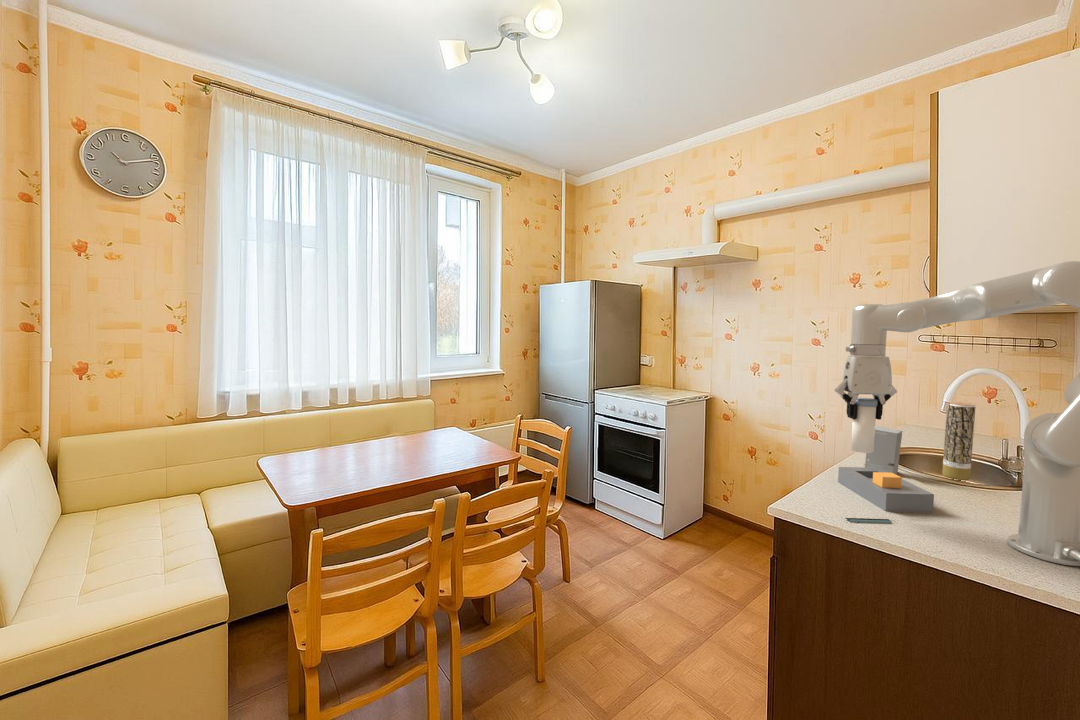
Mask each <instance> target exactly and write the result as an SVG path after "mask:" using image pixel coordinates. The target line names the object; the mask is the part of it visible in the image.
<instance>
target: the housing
mask: <svg viewBox="0 0 1080 720" xmlns="http://www.w3.org/2000/svg"><path fill="white" fill-rule="evenodd" d="M873 472H886V471H884V470H882V469H880V468H868V467H865V466H864V467H863V466H861V467H860V466H859V467H857V466H856V467H855V466H853V467H852V466H838V472H837V473H838V475H837V476H838V477H837V483H838V484H840V485H841V486H843V487H844V488H846V489H848V490H850V491H852V492H853V493H854V494H856V495H857V496H859V497H861V498H863V499H864V500H866V501H868V502H870V503H871V504H872V505H874V506H876V507H878V508H879V509H881V510H883V511H884V512H891V513H893V512H894V513H897V512H898V513H925V514H926V513H930V514H933V513H934V502H935V501H934V500H935V494H934V493H932V492H929V491H928V490H926V489H923V488H921V487H920V486H917V485H915V484H913V483H912V482H909V481H907V480H905V479H903V478H902V483H901V488H882V487H880V486H878V485H876V484H875V483H873ZM886 473H889V472H886Z"/></svg>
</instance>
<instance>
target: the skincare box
mask: <svg viewBox="0 0 1080 720" xmlns="http://www.w3.org/2000/svg"><path fill="white" fill-rule="evenodd" d="M902 437H903V431H902V430H900V429H899V430H898V429H893V428H889V427H888V428H887V427H882V426H877V425H875V438H874V452H873V453H865V462H864V467H868V468H880V469H882V470H884V471H886V472H889V473H894V474H896V475H897V474H898V472H899V465H900V464H899V463H900V457H901V456H900V455H901V445H902V440H903V439H902Z"/></svg>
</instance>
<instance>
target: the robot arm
mask: <svg viewBox="0 0 1080 720" xmlns="http://www.w3.org/2000/svg"><path fill="white" fill-rule="evenodd" d="M1062 304H1064V305H1067V306H1070V307H1073V308H1076V309H1078V310H1080V261H1079V260H1078V261H1077V260H1073V261H1063V262H1060V263H1057V264H1054V265H1049V266H1045V267H1040V268H1037V269H1033V270H1029V271H1025V272H1021V273H1017V274H1012V275H1008V276H1007V275H1006V276H1003V277H1000V278H995V279H990V280H986V281H981V282H978V283H975V284H971V285H968V286H965V287H963V288H960V289H958V290H953V291H951V292H947V293H943V294H940V295H936V296H932V297H931V296H930V297H927V298H923V299H919V300H916V301H914V300H913V301H911V302H901V303H893V304H882V303H877V304H875V303H874V304H873V303H871V304H869V303H868V304H867V303H866V304H857V305H856V306H854V307H853V308H852V313H851V314H852V317H851V318H852V319H851V334H850V335H851V337H850V345H849V346H846V347H845V352H846V353H849V354H850V355H847V358H846V360H845V361H846V362H845V365H844V368H843V374H842V375H843V376H842V382H840V384H838V385H837V387H836V388H834V392H835V393H836V394H837V395H838V396H840V398H842V400H844V402H845V403H846V416H847V418H848V419H851V420H852V419H857V407H858V406H857V404H855V403H856V400H857V398H859V395H872V396H871V397H872V399H876V400H878V402H877V406H876V420H881V421H882V416H883V410H884V407H883V406H884V405H886V402H888V401H889V400H890V399H891V397H893V396H894V395H895V394H897V393H898V390H897V389H896V388H895V387H894V385H893V375H892V365H891V360H890V357H889V356H886V349H887V348H886V347H887V338H888V337H887V333H888V331H889V332H899V333H913V332H916V331H918V330H923V329H926V328H932V327H938V326H941V325H942V326H943V325H947V324H953V323H958V322H968V321H980V320H984V319H986V320H987V319H991V318H996V317H1002V316H1005V315H1011V314H1016V313H1021V312H1026V311H1031V310H1036V309H1041V308H1046V307H1052V306H1056V305H1062ZM846 392H847V393H846ZM1063 394H1064V395H1063V396H1064V401H1065V402H1066V403H1067V406H1066V407H1065V408H1064V409H1063V411H1062V412H1049V413H1043V414H1040V415H1037V416H1036V417H1034V418H1033V419H1031V420H1030V421H1029V422H1028V423H1027V424H1026V427H1025V430H1024V434H1023V445H1024V446H1023V447H1024V450H1023V451H1024V453H1023V454H1024V466H1023V475H1022V476H1023V477H1022V478H1023V479H1022V487H1021V499H1020V512H1019V521H1018V522H1019V523H1018V531H1017V532H1018V533H1014V534H1010V535H1009V536H1007V537H1008V538H1007V544H1009V546H1011V547H1012V548H1014V549H1015V550H1017V551H1019V552H1021V553H1023V554H1026V555H1028V556H1030V557H1034V558H1037V559H1040V560H1043V561H1045V562H1050V563H1054V564H1060V565H1064V566H1070V567H1071V566H1072V567H1080V372H1079V373H1078V374H1077V375H1076V376H1074V378H1073V379H1072V380H1071V381H1070V382H1069V383H1068V385H1066V387H1065V390H1064V392H1063Z"/></svg>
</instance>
